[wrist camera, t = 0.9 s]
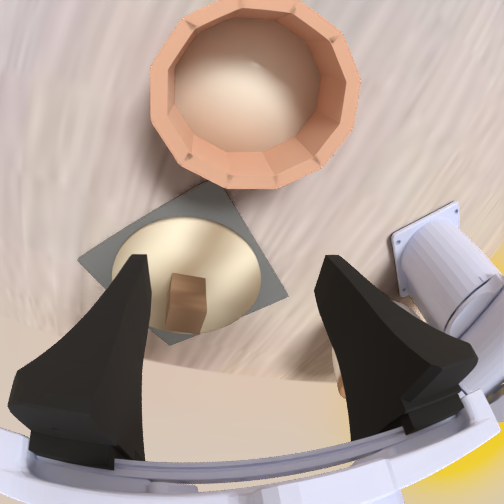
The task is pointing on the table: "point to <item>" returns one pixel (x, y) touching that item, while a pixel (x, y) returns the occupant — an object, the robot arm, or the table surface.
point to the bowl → (254, 92)
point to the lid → (194, 273)
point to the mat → (192, 205)
